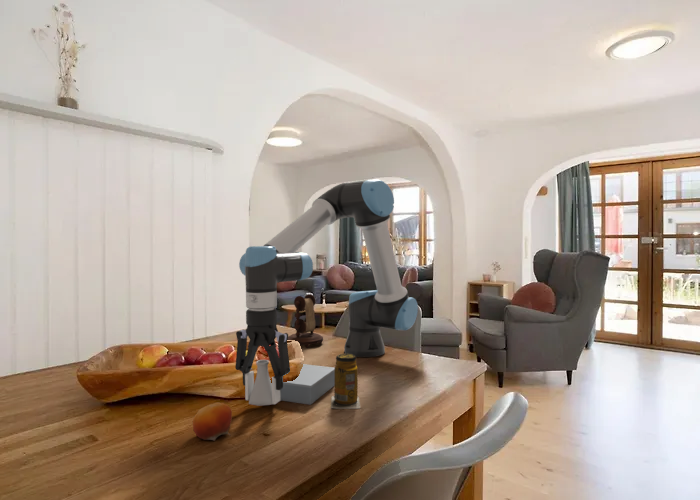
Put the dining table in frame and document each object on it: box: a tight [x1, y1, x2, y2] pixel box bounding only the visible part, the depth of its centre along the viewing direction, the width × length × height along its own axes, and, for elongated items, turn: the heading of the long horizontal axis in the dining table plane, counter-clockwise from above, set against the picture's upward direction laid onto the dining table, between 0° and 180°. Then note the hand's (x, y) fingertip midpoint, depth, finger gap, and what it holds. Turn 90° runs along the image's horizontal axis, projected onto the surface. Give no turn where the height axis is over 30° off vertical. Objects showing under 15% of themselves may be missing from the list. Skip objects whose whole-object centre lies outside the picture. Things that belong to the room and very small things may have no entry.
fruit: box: [192, 401, 233, 442], centre depth 92 cm, size 8×8×8 cm
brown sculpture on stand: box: [288, 293, 324, 349], centre depth 175 cm, size 15×15×20 cm
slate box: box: [280, 363, 335, 406], centre depth 119 cm, size 17×13×5 cm
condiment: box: [330, 353, 361, 410], centre depth 111 cm, size 7×8×12 cm
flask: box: [248, 359, 273, 407], centre depth 107 cm, size 7×7×10 cm
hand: (262, 400), depth 107 cm, fingers closed on flask, 7 cm apart
